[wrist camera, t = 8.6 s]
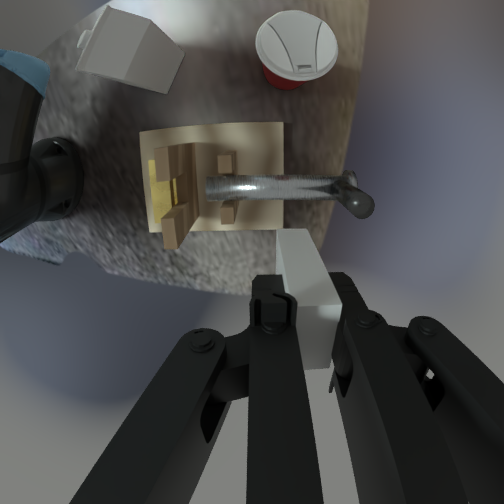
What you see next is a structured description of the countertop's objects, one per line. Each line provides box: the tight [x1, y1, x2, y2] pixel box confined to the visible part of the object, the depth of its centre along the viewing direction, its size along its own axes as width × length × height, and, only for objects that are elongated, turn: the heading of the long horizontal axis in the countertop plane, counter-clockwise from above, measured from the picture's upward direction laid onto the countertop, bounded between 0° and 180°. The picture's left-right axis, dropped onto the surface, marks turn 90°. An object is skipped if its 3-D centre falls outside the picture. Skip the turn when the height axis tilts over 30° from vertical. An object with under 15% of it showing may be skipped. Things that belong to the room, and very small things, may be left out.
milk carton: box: [75, 5, 185, 94], centre depth 25 cm, size 7×7×19 cm
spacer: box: [148, 159, 178, 223], centre depth 36 cm, size 2×8×8 cm, turn 1°
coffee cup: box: [255, 10, 338, 90], centre depth 27 cm, size 8×8×15 cm
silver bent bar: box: [205, 170, 375, 219], centre depth 29 cm, size 17×4×11 cm, turn 91°
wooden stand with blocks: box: [139, 122, 284, 249], centre depth 34 cm, size 21×16×14 cm
